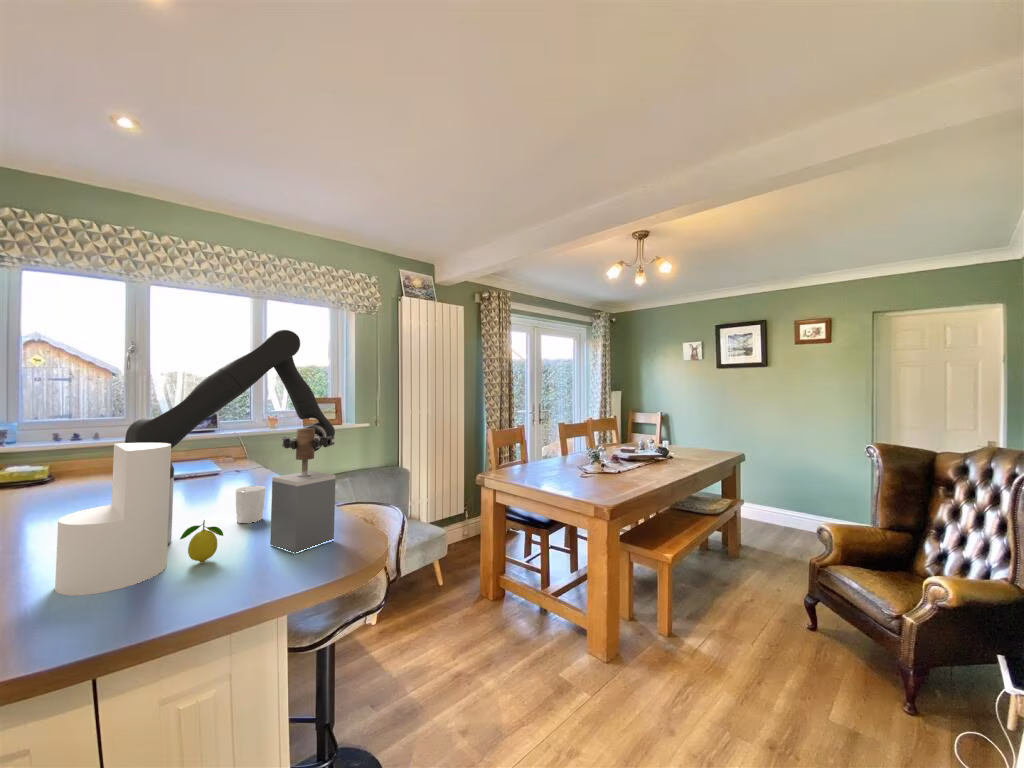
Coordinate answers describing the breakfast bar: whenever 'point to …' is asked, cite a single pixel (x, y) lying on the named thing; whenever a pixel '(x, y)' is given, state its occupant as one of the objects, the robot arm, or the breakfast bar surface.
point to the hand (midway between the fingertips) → (304, 445)
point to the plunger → (305, 447)
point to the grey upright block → (302, 510)
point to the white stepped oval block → (119, 527)
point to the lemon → (202, 542)
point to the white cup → (250, 504)
